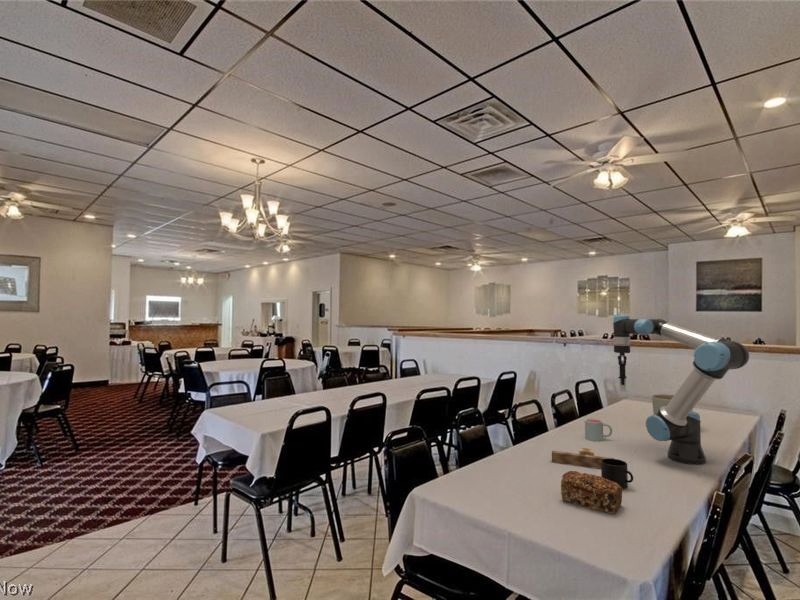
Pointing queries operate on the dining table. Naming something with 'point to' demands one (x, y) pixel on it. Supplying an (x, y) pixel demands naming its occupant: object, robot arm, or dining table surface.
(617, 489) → the bread
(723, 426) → the dining table surface
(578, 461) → the board
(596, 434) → the mug
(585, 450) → the block
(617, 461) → the mug
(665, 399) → the planter
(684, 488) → the dining table surface
